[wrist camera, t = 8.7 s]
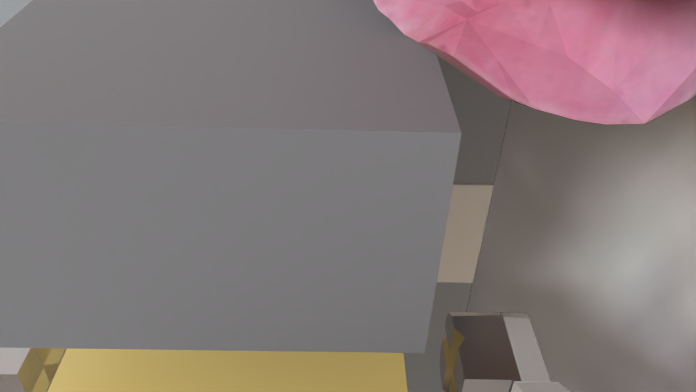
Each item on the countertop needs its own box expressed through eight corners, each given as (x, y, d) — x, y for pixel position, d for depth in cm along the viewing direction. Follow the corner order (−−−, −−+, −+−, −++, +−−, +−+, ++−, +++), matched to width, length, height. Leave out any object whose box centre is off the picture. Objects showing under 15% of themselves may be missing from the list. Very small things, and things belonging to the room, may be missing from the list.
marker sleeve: (162, 336, 14) (94, 564, 10) (134, 199, 12) (31, 426, 8) (375, 339, 15) (389, 565, 11) (387, 205, 12) (411, 430, 8)
